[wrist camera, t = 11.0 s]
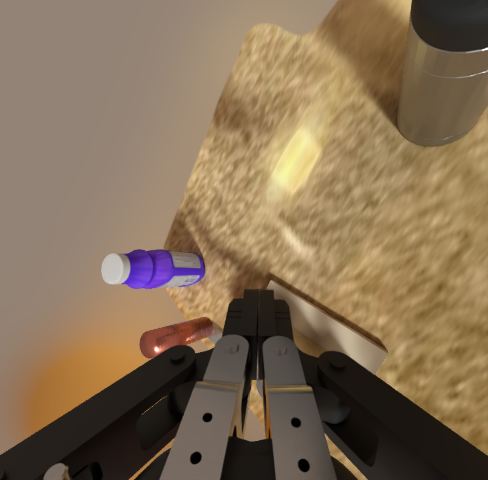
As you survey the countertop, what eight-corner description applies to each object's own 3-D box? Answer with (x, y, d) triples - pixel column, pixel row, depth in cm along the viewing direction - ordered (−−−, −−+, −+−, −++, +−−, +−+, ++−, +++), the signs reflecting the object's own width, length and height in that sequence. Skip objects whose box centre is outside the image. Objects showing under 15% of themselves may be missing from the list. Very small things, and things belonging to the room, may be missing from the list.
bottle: (204, 249, 50) (126, 238, 34) (211, 279, 48) (133, 282, 33) (174, 261, 53) (89, 256, 37) (180, 289, 51) (95, 297, 36)
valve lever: (281, 402, 29) (237, 462, 20) (198, 329, 35) (134, 350, 26) (295, 378, 29) (257, 428, 20) (210, 308, 34) (148, 322, 25)
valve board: (235, 353, 45) (230, 355, 44) (273, 280, 43) (270, 280, 42) (335, 436, 37) (334, 442, 36) (387, 350, 35) (387, 353, 34)
